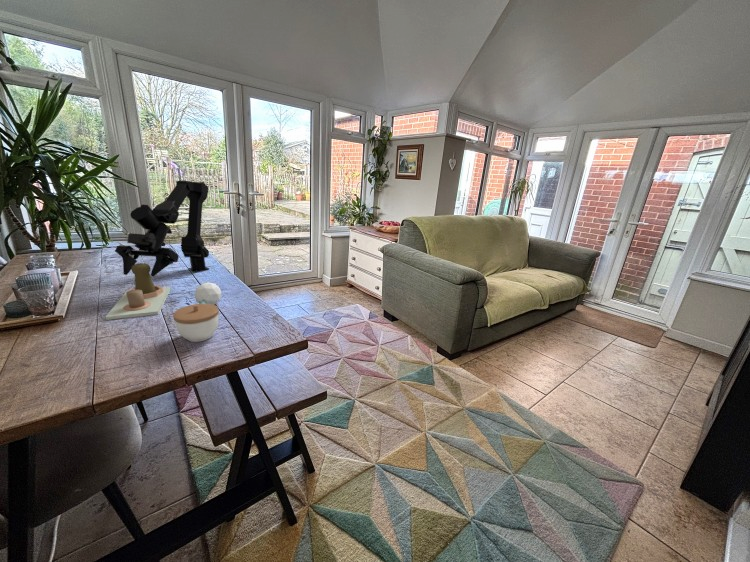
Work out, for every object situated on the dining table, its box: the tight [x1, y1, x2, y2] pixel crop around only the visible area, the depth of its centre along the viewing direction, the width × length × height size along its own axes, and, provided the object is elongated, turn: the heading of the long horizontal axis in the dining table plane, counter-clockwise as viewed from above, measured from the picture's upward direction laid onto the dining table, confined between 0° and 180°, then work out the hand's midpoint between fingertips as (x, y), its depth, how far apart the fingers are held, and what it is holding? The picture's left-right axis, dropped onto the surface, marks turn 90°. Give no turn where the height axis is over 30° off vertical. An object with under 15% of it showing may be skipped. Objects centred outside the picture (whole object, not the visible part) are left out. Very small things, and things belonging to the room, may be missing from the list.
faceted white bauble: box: [194, 281, 222, 305], centre depth 101 cm, size 8×8×12 cm
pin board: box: [105, 284, 172, 321], centre depth 101 cm, size 23×13×6 cm, turn 24°
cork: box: [130, 262, 156, 294], centre depth 105 cm, size 6×6×11 cm
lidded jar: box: [172, 303, 220, 343], centre depth 82 cm, size 11×11×9 cm
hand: (138, 275), depth 102 cm, fingers open, 9 cm apart
